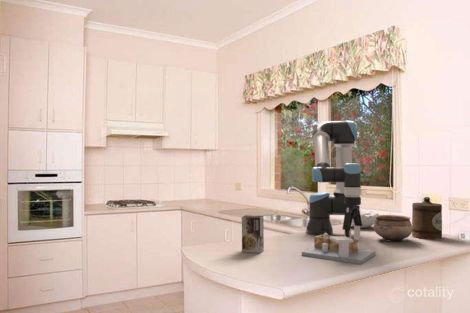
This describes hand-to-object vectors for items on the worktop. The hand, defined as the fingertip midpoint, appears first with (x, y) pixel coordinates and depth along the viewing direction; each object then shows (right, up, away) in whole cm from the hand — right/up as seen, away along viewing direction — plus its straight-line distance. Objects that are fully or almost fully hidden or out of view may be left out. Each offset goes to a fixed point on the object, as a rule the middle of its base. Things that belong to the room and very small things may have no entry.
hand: (352, 241), depth 181 cm
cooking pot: (+28, -4, +23) cm, 36 cm away
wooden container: (+51, -5, +32) cm, 60 cm away
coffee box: (-47, -4, -2) cm, 47 cm away
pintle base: (-10, -4, -10) cm, 14 cm away
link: (-9, -2, -5) cm, 10 cm away
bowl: (+24, -5, +63) cm, 68 cm away
